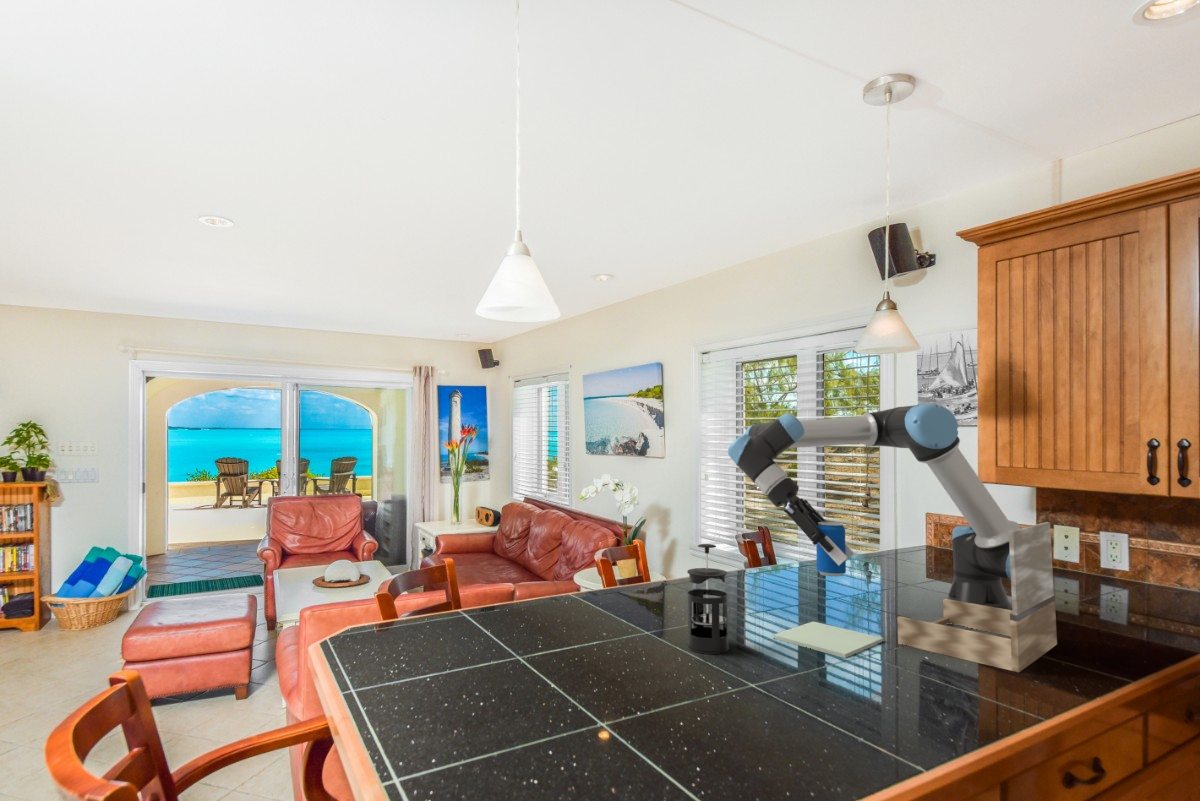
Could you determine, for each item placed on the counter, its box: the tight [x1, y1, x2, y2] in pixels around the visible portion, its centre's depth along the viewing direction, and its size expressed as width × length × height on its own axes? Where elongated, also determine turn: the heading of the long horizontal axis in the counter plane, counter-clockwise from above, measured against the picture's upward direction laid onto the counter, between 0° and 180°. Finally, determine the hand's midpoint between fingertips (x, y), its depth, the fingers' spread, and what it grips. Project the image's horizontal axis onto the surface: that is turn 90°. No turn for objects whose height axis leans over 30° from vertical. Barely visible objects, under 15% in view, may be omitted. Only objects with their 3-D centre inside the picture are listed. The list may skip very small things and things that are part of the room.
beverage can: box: [815, 521, 847, 577], centre depth 146 cm, size 6×6×12 cm
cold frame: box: [896, 521, 1058, 673], centre depth 144 cm, size 24×28×28 cm
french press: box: [686, 543, 730, 655], centre depth 141 cm, size 12×9×23 cm
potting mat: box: [772, 621, 884, 659], centre depth 145 cm, size 18×18×1 cm
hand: (846, 559), depth 144 cm, fingers closed on beverage can, 6 cm apart
